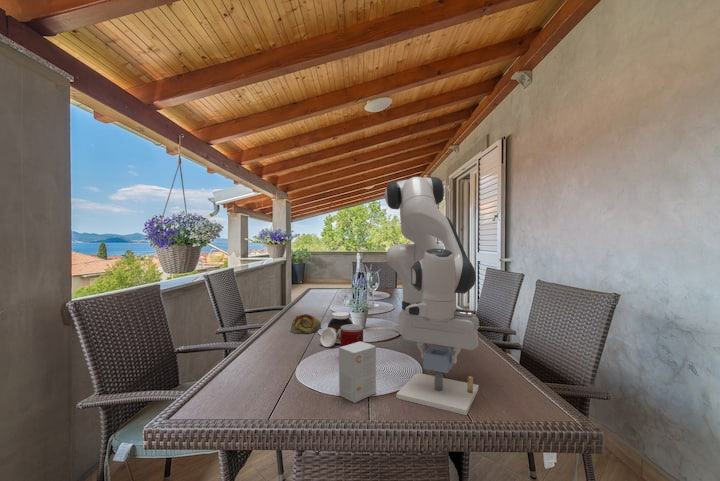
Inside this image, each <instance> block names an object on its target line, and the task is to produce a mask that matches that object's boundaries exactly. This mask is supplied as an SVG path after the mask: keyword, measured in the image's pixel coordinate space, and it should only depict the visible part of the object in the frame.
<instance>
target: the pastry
mask: <svg viewBox="0 0 720 481" xmlns="http://www.w3.org/2000/svg"><path fill="white" fill-rule="evenodd" d="M321 329H322V323H321V321H320V320H319V318H318V317H315V316H313V315H311V314H306V313H305V314H300V315H296V316H295V317H294V318H293V319H292V322H291V327H290V330H291V333H293V334H295V335H299V334H307V335H308V334H313V333H316V332H317V331H319V330H321Z"/></svg>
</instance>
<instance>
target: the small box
mask: <svg viewBox="0 0 720 481" xmlns="http://www.w3.org/2000/svg"><path fill="white" fill-rule="evenodd" d="M376 347H377V346H376V345H373V344H371V343H367V342H364V341H363V342H361V341H360V342H356V343H353V344H349V345H346V346H342V347H340V346H339V347H338V357H339V358H338V367H339V368H338V381H339V382H338V388H339V389H338V391H339V392H338V393H339V396H340V397H342V398H343V399H346V400H348V401H350V402H352V403H354V404H355V403H358V402H359V401H362V400H364V399H366V398H368V397H371V396H372V395H373V396H374V395H376V393H377V382H376V381H377V371H376V370H377V360H376V359H377V353H376V352H377V351H376V350H377V348H376Z"/></svg>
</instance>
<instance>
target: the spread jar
mask: <svg viewBox="0 0 720 481" xmlns="http://www.w3.org/2000/svg"><path fill="white" fill-rule="evenodd" d="M348 324H354V323H353V321H352V320H351V318H350V313H349V312H346V311H336V312H333V313H331V319H330V320H329V321H328V324H327V328H325V329H324V330H322V332H321V334H320V344H321V345H322V346H323V347H326V348H331V347H333V346H339V347H340V329H341V326H343V325H348Z"/></svg>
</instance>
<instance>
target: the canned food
mask: <svg viewBox="0 0 720 481" xmlns="http://www.w3.org/2000/svg"><path fill="white" fill-rule="evenodd" d="M360 341H361V342H364V326H363V325H359V324H354V323H353V324H348V325H343V326H341V329H340V346H339V347H342V346H346V345H349V344H353V343H356V342H360Z"/></svg>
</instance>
